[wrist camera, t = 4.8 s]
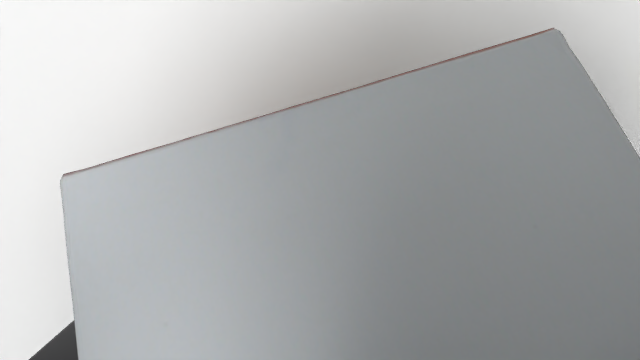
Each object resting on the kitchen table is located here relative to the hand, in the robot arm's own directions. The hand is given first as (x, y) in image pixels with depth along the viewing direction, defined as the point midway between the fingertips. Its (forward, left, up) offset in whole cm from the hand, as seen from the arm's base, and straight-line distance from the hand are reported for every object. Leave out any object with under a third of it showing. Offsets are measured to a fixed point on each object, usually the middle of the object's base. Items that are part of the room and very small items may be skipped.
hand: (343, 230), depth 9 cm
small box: (0, -1, -7) cm, 7 cm away
